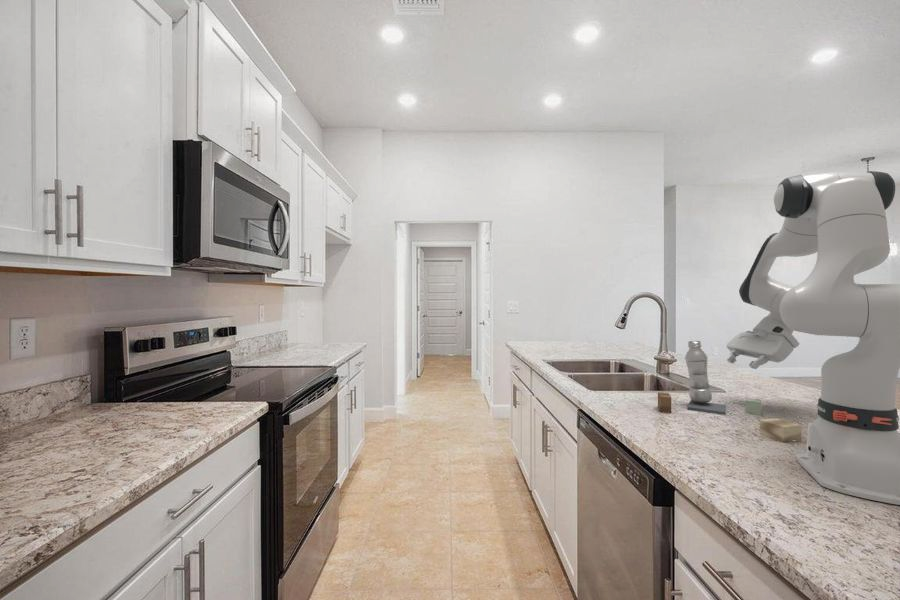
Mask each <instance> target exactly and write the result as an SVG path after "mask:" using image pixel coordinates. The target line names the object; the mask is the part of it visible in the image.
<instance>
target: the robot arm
mask: <svg viewBox="0 0 900 600" xmlns="http://www.w3.org/2000/svg"><path fill="white" fill-rule="evenodd" d="M895 194H896V183H895V180H894V178H893V177H892V176H891V175H890V174H889V173H887V172H882V171H875V170H873V171H871V170H868V171H866V172H865V171H864V172H862V171H841V172H836V171H829V172H828V171H827V172H819V173H818V172H817V173H813V174H812V173H811V174H805V175H802V174H798V175H793V176H789V177H786V178H784V179H783V180H782V181H781V182H779V184H778V185H777V188H776V190H775V192H774V196H773V205H774V208H775V211H776V213H777V214H778V215H779V216H780V217H784V221H783V224H782V226H781V229H780V230H779V231H778V232H774V233H772V234H770V235H769V236H768V237H767V238H766V239H765V241H764V242H763V244H762V245H761V247H760V249H759V251H758V253H757V255H756V257H755V259H754V261H753V264H752V265H751V268H750V270H749V271H748V274H747V276H746V277H745V278H744V280H743V281H742V283H741V285H740V287H739V289H738V293H739V296H740V298H741V300H742V302H743V303H746V304H749V305H751V306H755V307H758V308H760V309H762V310H765V311H767V312H769V314H768V315H767V316H765V317H763V318H762V319H761V320H760V321H759V322H758V323H757V324H756V325H755V326H754V327H753V328H752V331H750V330H747V331H743V332H740V333H738V334H737V335H735V336H734V337H733V338H732V339H730V340H729V342H727V343H726V348H727V349H728V350H729V352H730V354H729V356H728V357H727V359H726V361H727V362H728V363H729V364H735V363H736V362H737V357H739V356H743V357H744V356H745V357H750V358H755V359H756V360H751V362H750V363H749V364H748V366H749V367H750V368H751V369H752V370H753V369H754V370H757V369H758V368H759V367H760V366H763V365H765V364H767V363H768V362H773V363H781V362H783V361H785V360H786V359H787V358H788V357H789V356H790V355H791V354H792V352H793V351H794V349H795V348H798V347H799V345H800V342H799V341H798V339H796V338H795V336H794V335H793V332H799V333H804V334H809V335H814V336H826V337H827V336H828V337H829V336H830V337H847V338H848V337H850V338H851V337H852V338H853V337H854V338H858V339H859V340H858V343H857V344H856V346H855V347H854V348H853V349H852V350H850V351H847V352H843V353H839V354H836V355H834V356H832V357H830V358H828V359H827V360H825V362H824V363H823V364H822V365H821V368H820V369H821V373H820V375H821V376H820V378H821V379H820V397H819V398H818V399H817V403H816V407H817V413H816V414H817V416H818V417H817V418H816V419H815V420H814V421H811V422H810V423H808V426H807V436H806V449H805V450H806V451H805V452H806V453H805V454H803V453H802V454H800V453H799V454H796V456H795V461H796V462H797V463H798V464H799V465H800V466H801V467H803V468H804V470H805V471H806V472H807V473H808V474H809V476H810V475H811V477H812V478H813V479H814V480H815V481H816V482H817V483H818V484H819V485H821V487H824V488H827V489H829V490H831V491H835V492H838V493H842V494H844V495H850V496H852V497H853V496H854V497H858V498H862V499H865V500H871V501H877V502H882V503H886V504H891V505H897V506H898V505H899V506H900V432H899V431H898V430H899V429H900V426H899V425H900V424H899V421H900V417H899V414H898V409H897V408H896V406H895V405H896V404H895V403H896V388H897V381H898V375H899V372H900V283H896V284H895V283H894V284H892V283H891V284H890V283H888V284H886V283H883V284H882V283H881V284H880V283H877V284H875V283H874V284H873V283H868V284H864V283H863V284H861V283H855V277H854V276H856V275H858V274H861V273H863V272H866V271H869V270H871V269H874V268H876V267H879V265H882V264H883V262H885V261H886V260H887V259H888V257H889V256H890V253H891V246H890V238H889V230H888V228H889V227H888V220H887V213H886V210H887V209H888V208H889V207H890V206H891V204H892V203H893V202H894V201H893V200H894V198H895ZM816 253H817V255H816V262H815V264H814V268H813V269H812V271H811V272H810V273H809V275H808V276H807V277H806V278H805V279H804V280H803V281H802V282H800V283H799V284H797V285H795V286H793V285H789V284H787V283H784V282H782V281H779V280H776V279H774V278H772V277H771V276H770V275H769V272H770V271H771V269H772V267H773V264H774V263H775V261H776V259H777V258H781V257H783V258H784V257H793V258H794V257H795V258H796V257H805V256H810V255H813V254H816Z"/></svg>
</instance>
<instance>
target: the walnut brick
mask: <svg viewBox="0 0 900 600" xmlns="http://www.w3.org/2000/svg"><path fill="white" fill-rule="evenodd" d="M657 409H658V410H659V412H660V413H666V414H672V396H671V394H670V393H669V392H661V391H658V392H657Z"/></svg>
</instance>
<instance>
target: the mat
mask: <svg viewBox="0 0 900 600" xmlns="http://www.w3.org/2000/svg"><path fill="white" fill-rule="evenodd" d="M687 410H689V411H697V412H702V413H703V412H704V413H710V414H711V413H712V414H718V415H724V416H726V412H727V411H726V410H727V404H722V403H714V402H706V403H697V402H693V401H692V400H691V399H690V401H689V402H688V405H687Z"/></svg>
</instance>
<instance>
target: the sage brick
mask: <svg viewBox="0 0 900 600" xmlns="http://www.w3.org/2000/svg"><path fill="white" fill-rule="evenodd" d="M744 401H745V402H744V403H745V404H744V413H745V414H748V413H751V414H750V415H755V414H759V415H758V416H762V403H763V402H762V399H758V398H749V397H745V398H744Z"/></svg>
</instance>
